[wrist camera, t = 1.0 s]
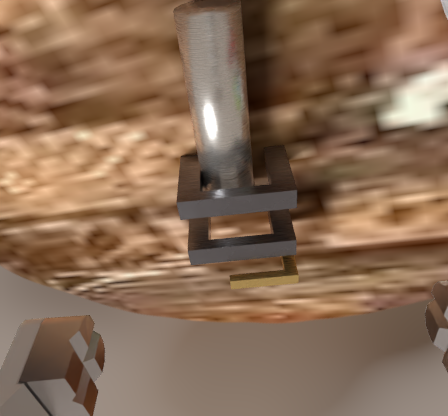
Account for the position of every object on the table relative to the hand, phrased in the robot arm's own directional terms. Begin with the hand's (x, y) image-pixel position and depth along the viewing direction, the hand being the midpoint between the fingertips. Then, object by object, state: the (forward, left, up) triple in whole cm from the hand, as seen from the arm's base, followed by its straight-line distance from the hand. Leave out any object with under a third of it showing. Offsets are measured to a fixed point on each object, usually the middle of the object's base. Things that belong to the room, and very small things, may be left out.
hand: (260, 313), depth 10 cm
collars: (+18, 0, -29) cm, 34 cm away
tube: (+8, 0, -29) cm, 30 cm away
